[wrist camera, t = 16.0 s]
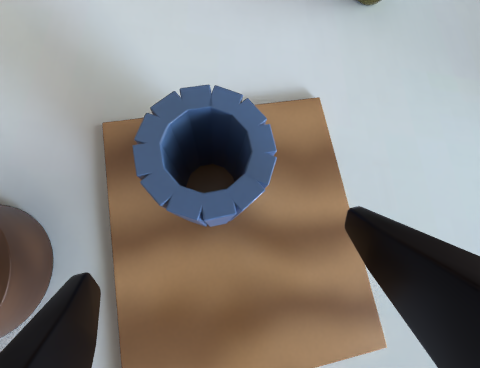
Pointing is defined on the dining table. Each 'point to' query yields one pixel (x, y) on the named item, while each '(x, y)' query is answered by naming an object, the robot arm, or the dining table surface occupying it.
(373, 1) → the cup
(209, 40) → the dining table surface
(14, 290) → the stand
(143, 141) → the sleeve
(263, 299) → the wooden board
